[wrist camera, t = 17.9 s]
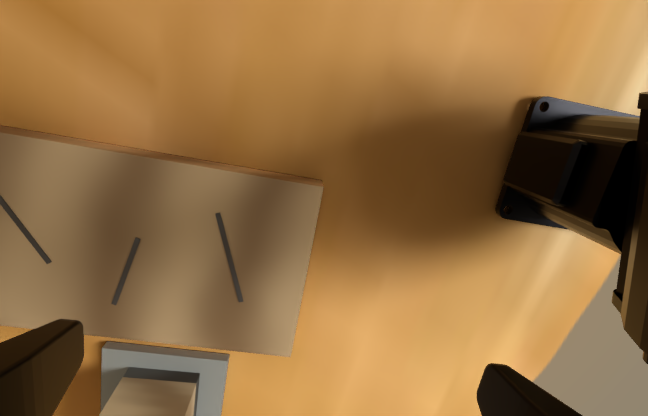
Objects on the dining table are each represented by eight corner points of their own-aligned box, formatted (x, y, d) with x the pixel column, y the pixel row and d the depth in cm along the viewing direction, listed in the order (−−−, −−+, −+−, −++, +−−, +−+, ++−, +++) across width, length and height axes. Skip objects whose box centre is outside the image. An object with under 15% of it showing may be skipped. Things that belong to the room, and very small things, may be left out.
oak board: (321, 180, 19) (323, 187, 18) (291, 340, 22) (290, 357, 20) (-58, 115, 17) (-92, 117, 15) (-38, 302, 20) (-66, 319, 18)
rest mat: (229, 354, 22) (227, 361, 21) (214, 465, 24) (212, 474, 24) (107, 341, 21) (101, 348, 20) (104, 457, 23) (99, 466, 23)
